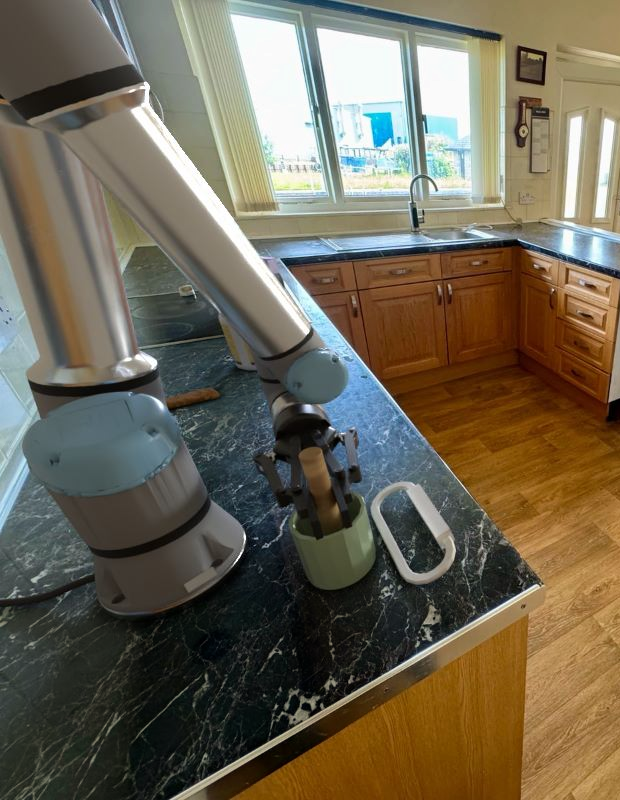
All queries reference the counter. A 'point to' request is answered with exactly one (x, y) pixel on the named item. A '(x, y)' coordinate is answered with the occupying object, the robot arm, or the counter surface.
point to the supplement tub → (237, 347)
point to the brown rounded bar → (191, 397)
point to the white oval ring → (432, 522)
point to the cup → (336, 549)
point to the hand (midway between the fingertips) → (332, 524)
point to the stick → (321, 490)
